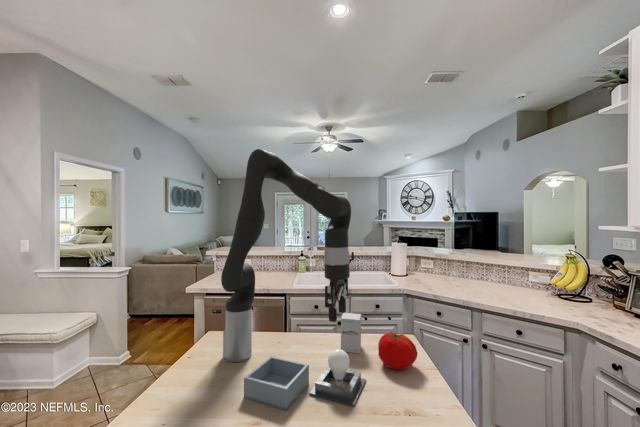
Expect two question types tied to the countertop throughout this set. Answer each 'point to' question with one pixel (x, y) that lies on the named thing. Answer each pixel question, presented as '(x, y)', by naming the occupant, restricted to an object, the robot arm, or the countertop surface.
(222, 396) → the countertop surface
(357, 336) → the supplement box
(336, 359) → the lightbulb
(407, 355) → the tomato
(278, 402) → the bin
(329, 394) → the dark grey square frame
